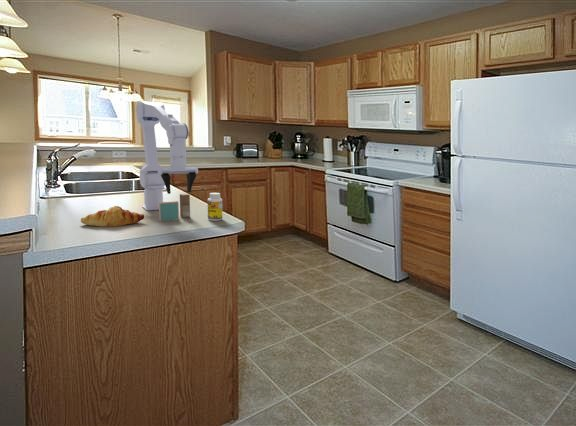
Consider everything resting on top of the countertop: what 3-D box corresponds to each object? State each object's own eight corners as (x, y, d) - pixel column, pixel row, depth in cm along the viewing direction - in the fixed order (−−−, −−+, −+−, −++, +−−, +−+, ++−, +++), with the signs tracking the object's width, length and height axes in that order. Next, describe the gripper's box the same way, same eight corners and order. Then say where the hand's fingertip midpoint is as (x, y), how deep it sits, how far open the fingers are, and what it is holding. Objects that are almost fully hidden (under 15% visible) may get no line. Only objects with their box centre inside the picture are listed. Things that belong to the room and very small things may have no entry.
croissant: (80, 237, 142) (76, 219, 137) (83, 218, 150) (79, 201, 145) (145, 232, 149) (143, 215, 144) (144, 214, 156) (143, 198, 151)
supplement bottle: (204, 219, 157) (204, 193, 155) (214, 217, 162) (213, 191, 160) (216, 221, 155) (215, 195, 152) (225, 219, 159) (225, 193, 157)
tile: (159, 220, 154) (158, 202, 153) (178, 219, 158) (177, 201, 156) (160, 221, 153) (159, 203, 151) (179, 219, 156) (178, 201, 155)
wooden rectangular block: (180, 216, 162) (179, 193, 160) (187, 215, 163) (187, 193, 161) (182, 218, 159) (182, 195, 157) (190, 217, 160) (189, 194, 159)
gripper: (160, 157, 146) (162, 195, 149) (200, 157, 153) (201, 193, 156) (156, 156, 152) (157, 192, 154) (194, 155, 159) (195, 190, 162)
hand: (179, 192), depth 155 cm, fingers open, 7 cm apart
